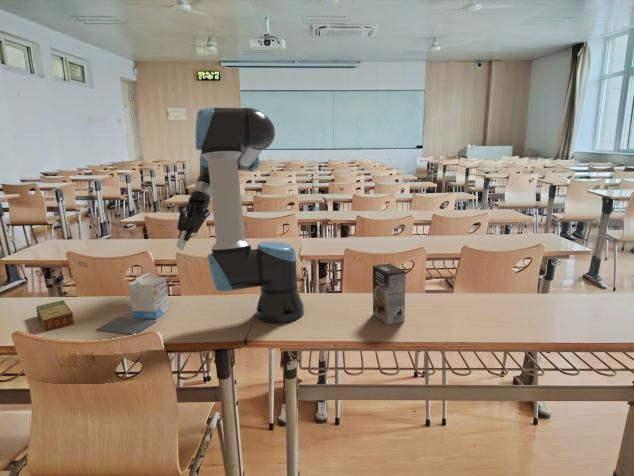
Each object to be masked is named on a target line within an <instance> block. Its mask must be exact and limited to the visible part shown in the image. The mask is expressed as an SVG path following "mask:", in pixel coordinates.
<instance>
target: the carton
mask: <svg viewBox="0 0 634 476" xmlns="http://www.w3.org/2000/svg"><path fill="white" fill-rule="evenodd" d="M35 308H36V315H37V318H38V319H39V321H40V324H41V327H42V328H43V330H44V332H48V331H52V330H56V329H61V328H64V327H69V326H72V325H75V320H74V313H73V312H72V310H71V309H70V307H69V306H68V305H67V304H66V302H65V300H63V299H62V300H57V301H54V302H53V301H52V302H49V303H45V304H40V305H37V306H36V307H35Z"/></svg>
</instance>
